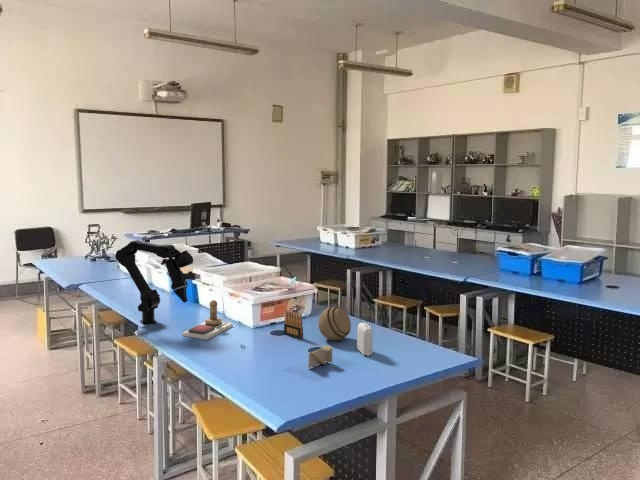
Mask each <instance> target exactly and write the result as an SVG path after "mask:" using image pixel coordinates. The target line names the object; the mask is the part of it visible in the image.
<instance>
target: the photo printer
mask: <svg viewBox="0 0 640 480" xmlns="http://www.w3.org/2000/svg"><path fill="white" fill-rule="evenodd" d="M356 332H357V335H356V338H357V339H356V349H357V351H358V350H359V351H360V352H361V353H362V354H361V353H360V352H359V351H358V352H359V353H360V354H361V355H363V356H364V355H371V354H372V355H373V341H374V339H373V338H374V337H373V336H374V334H373V333H374V332H373V329H372V327H371V326H370V325H369V324H368V323H367V322H360V323H359V324H358V325H357V330H356ZM372 355H371V356H372Z"/></svg>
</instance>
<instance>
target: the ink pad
mask: <svg viewBox="0 0 640 480" xmlns="http://www.w3.org/2000/svg"><path fill="white" fill-rule="evenodd" d="M195 326H196V327H195ZM195 326H194V328H193V327H191V328H192V329H191V328H188V330H189V333H195V334H202V335H204V334H206V333H208V332H210V331H212V330H214V329H215V327H213V326H206V325H200V324H198V326H197V325H195Z"/></svg>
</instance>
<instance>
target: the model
mask: <svg viewBox="0 0 640 480" xmlns="http://www.w3.org/2000/svg"><path fill="white" fill-rule="evenodd" d="M325 361H327V362H331V363H332V364H333V347H332V346H329V345H325V346H322V347H321V348H319V349H316V350H314V351H311V350H310V351H308V367H307V368H311V367H314V366H316V365H318V364H321V365H322V364H324V365H323V366H325V364H327V363H324V362H325ZM316 367H317V366H316ZM314 368H315V367H314Z"/></svg>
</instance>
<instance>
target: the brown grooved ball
mask: <svg viewBox="0 0 640 480" xmlns="http://www.w3.org/2000/svg"><path fill="white" fill-rule="evenodd" d="M351 325H352V323H351V318H350V317H349V314H348V313H347V312H346V311H345V310H344V309H343V308H341V307H340V306H330V307H326V309H324V310H323V311H322V312H321V313H320V316H319V318H318V329H319V331H320V333H321V335H322V336H323V337H324V338H326V339H327V340H330V341H334V342H335V341H341V340H343V339H345V338H346V337H348V335H349V334H350V333H351V329H352V326H351Z"/></svg>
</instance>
